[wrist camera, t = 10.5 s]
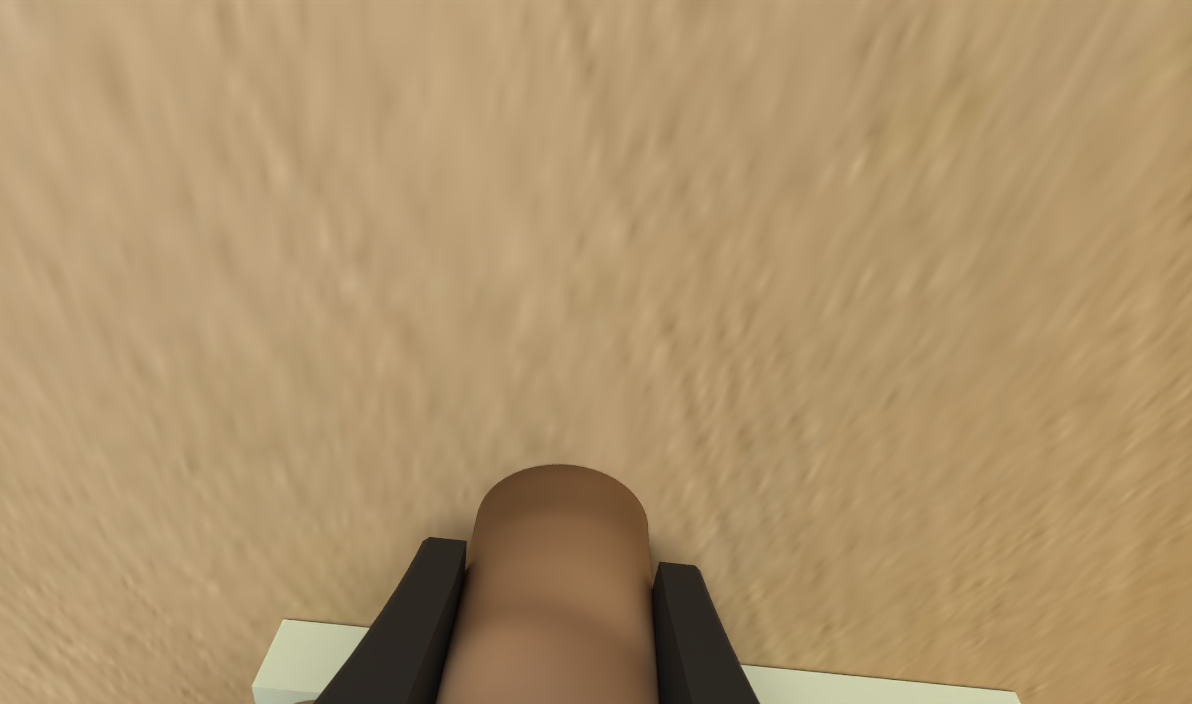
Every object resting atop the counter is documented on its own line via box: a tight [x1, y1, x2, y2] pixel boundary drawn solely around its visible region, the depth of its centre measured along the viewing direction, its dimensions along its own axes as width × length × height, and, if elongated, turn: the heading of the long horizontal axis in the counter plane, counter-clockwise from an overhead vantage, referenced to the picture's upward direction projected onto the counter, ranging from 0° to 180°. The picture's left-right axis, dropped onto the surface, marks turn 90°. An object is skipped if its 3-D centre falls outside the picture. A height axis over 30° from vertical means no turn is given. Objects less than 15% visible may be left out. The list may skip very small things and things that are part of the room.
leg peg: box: [436, 465, 659, 704], centre depth 10 cm, size 3×3×6 cm
